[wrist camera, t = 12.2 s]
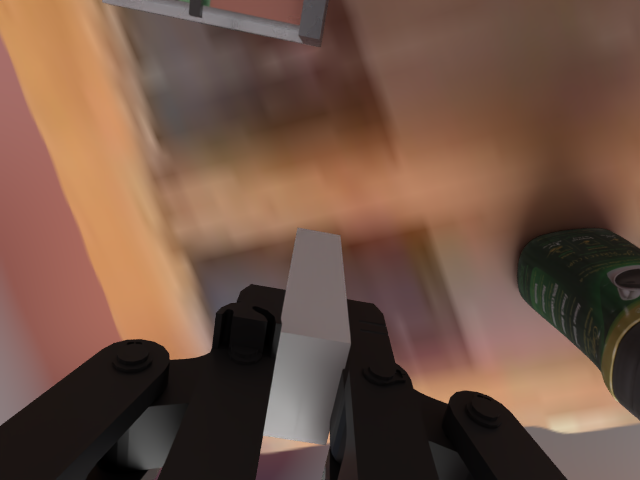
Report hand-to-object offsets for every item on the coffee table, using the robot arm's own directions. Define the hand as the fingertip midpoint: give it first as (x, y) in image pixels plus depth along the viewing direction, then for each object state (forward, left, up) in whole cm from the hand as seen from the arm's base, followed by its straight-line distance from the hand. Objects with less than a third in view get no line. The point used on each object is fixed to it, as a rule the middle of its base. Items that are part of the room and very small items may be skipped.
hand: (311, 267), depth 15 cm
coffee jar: (+6, +25, -25) cm, 36 cm away
